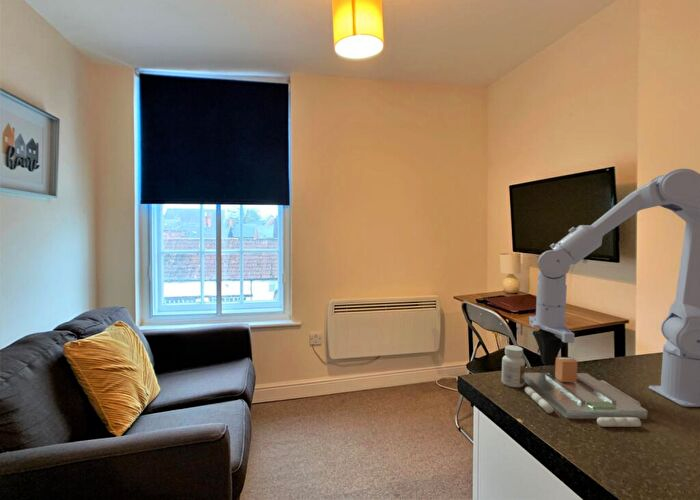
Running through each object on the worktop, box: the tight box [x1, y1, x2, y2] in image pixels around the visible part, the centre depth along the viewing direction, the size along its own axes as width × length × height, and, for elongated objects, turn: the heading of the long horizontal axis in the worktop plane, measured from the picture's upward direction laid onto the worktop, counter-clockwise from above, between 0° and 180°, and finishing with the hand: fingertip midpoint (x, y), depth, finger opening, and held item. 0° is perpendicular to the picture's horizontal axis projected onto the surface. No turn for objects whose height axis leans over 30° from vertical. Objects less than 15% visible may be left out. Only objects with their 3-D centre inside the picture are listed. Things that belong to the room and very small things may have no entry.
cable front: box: [524, 386, 555, 414], centre depth 69 cm, size 1×8×1 cm, turn 0°
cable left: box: [596, 417, 642, 428], centre depth 60 cm, size 7×1×1 cm, turn 90°
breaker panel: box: [524, 371, 648, 420], centre depth 71 cm, size 14×16×2 cm
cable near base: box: [599, 379, 642, 407], centre depth 71 cm, size 1×10×1 cm, turn 0°
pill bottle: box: [500, 344, 526, 388], centre depth 76 cm, size 4×4×8 cm
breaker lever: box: [554, 356, 578, 382], centre depth 75 cm, size 3×2×4 cm
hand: (548, 364), depth 81 cm, fingers closed
